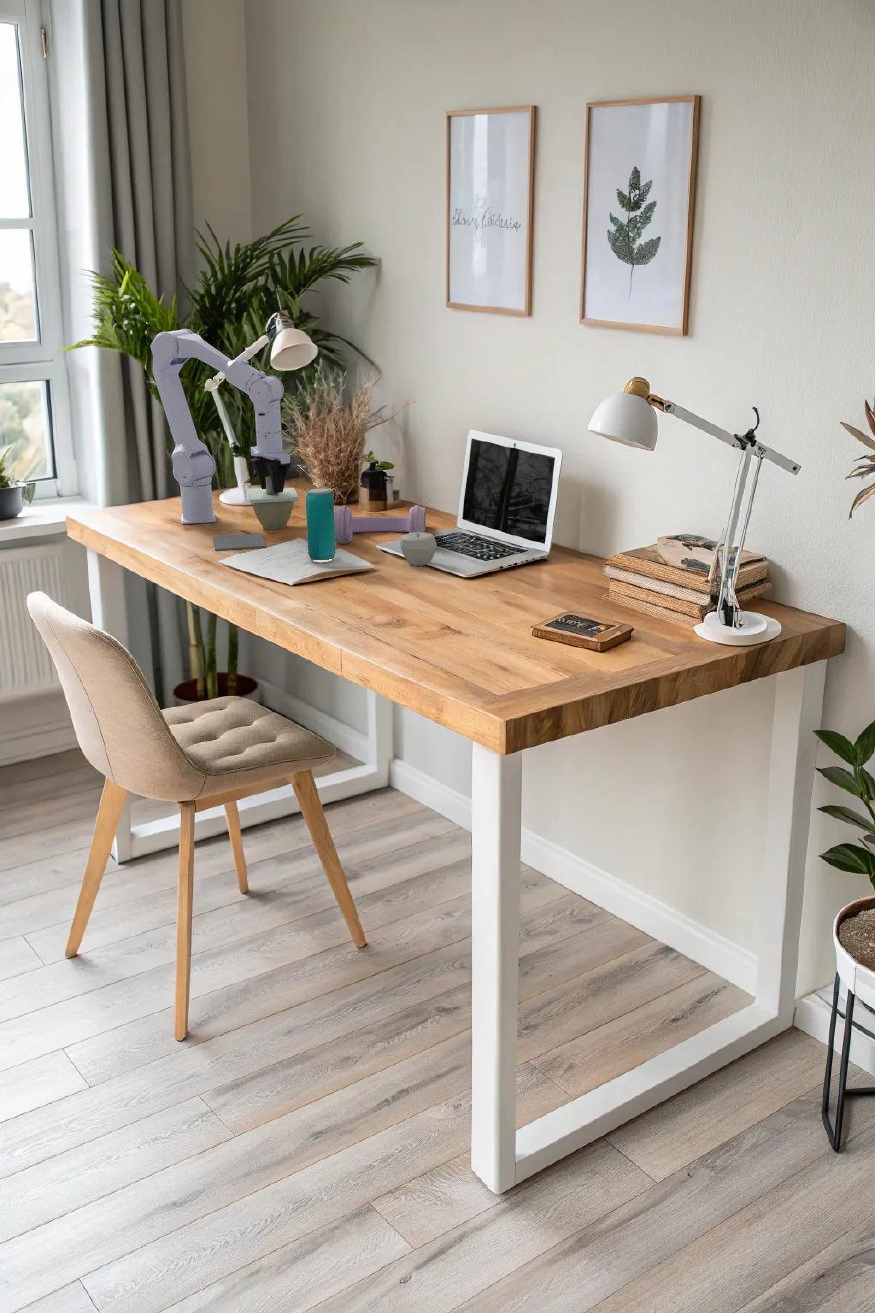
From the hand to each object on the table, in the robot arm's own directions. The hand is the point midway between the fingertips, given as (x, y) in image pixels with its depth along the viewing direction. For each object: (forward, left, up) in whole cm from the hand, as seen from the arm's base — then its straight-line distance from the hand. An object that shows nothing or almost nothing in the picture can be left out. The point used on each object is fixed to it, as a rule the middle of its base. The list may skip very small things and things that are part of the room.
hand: (272, 490), depth 288 cm
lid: (0, 0, -2) cm, 2 cm away
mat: (+13, -9, -9) cm, 18 cm away
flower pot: (0, 0, -9) cm, 9 cm away
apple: (+41, +26, -9) cm, 49 cm away
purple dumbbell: (+15, +23, -9) cm, 29 cm away
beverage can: (+33, +7, -9) cm, 35 cm away
